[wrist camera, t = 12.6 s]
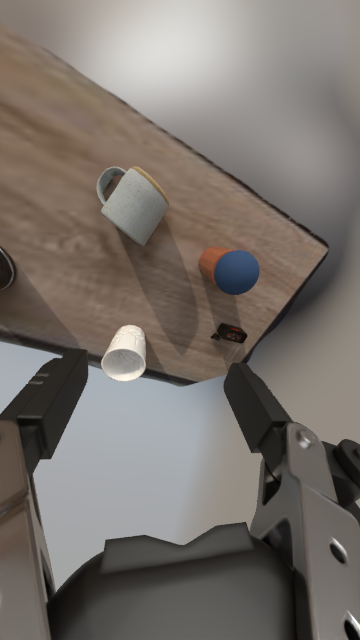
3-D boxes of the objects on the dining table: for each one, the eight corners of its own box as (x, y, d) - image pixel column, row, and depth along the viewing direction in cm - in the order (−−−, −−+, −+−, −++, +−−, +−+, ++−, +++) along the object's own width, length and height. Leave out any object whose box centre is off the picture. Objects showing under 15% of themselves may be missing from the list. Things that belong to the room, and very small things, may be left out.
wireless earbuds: (217, 320, 41) (222, 327, 38) (242, 327, 43) (248, 334, 40) (209, 336, 43) (213, 343, 40) (233, 342, 45) (239, 350, 42)
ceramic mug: (170, 206, 30) (174, 197, 23) (144, 246, 32) (140, 248, 25) (115, 154, 26) (100, 124, 19) (90, 203, 28) (68, 192, 21)
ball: (204, 284, 29) (216, 297, 23) (215, 244, 26) (231, 247, 21) (238, 291, 30) (257, 303, 24) (252, 253, 28) (276, 257, 22)
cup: (195, 275, 36) (207, 286, 28) (203, 243, 33) (218, 246, 25) (222, 280, 37) (241, 292, 29) (232, 250, 34) (255, 254, 26)
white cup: (149, 348, 42) (148, 378, 33) (117, 352, 42) (106, 384, 33) (145, 320, 39) (142, 346, 30) (110, 324, 38) (96, 350, 29)
